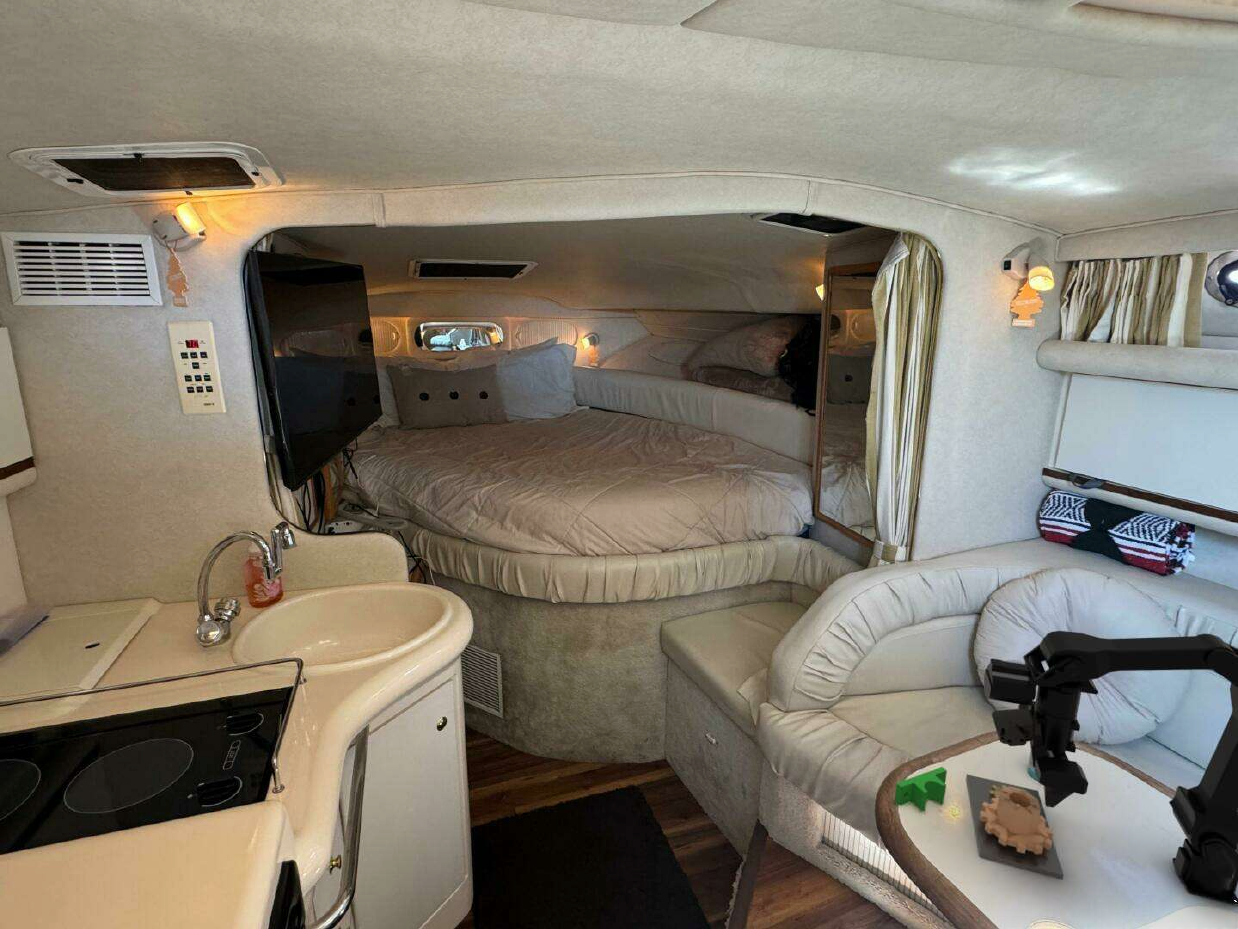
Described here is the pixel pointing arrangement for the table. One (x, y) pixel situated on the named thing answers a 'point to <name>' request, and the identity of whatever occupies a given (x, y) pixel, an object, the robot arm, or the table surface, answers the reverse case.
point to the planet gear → (1017, 821)
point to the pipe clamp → (922, 788)
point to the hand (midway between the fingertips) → (1042, 786)
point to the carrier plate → (989, 844)
